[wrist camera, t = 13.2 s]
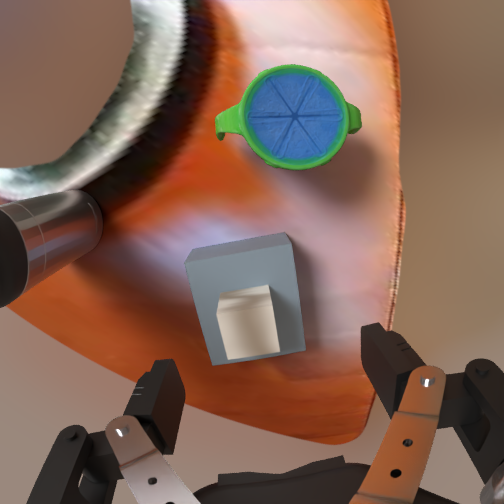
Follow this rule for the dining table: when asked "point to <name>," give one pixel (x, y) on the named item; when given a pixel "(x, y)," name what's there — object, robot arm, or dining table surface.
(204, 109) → the dining table surface
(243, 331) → the cream cube
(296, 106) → the snack cup
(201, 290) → the slate stand
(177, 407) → the robot arm
